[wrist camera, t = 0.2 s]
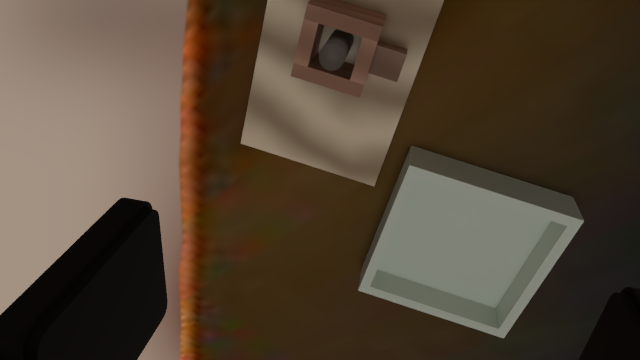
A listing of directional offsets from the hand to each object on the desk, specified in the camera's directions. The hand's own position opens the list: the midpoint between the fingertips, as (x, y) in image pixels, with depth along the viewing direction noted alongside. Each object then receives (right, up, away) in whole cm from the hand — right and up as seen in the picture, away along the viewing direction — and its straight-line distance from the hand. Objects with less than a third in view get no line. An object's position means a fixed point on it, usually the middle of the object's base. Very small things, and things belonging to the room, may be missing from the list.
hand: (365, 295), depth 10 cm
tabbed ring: (+2, +14, +32) cm, 35 cm away
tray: (+13, -3, +41) cm, 43 cm away
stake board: (0, +13, +35) cm, 37 cm away
